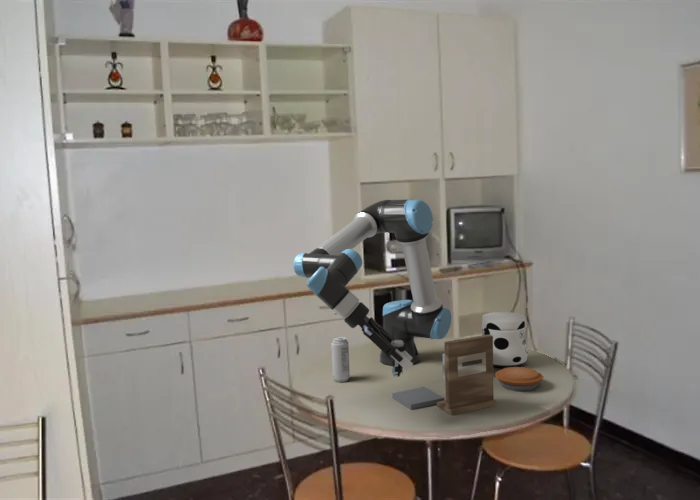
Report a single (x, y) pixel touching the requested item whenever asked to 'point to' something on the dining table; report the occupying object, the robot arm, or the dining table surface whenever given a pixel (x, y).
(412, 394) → the mat
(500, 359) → the milk container
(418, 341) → the dining table surface
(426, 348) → the dining table surface
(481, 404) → the mounted unit
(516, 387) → the pie
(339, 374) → the energy drink can
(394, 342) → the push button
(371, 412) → the dining table surface
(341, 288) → the robot arm
